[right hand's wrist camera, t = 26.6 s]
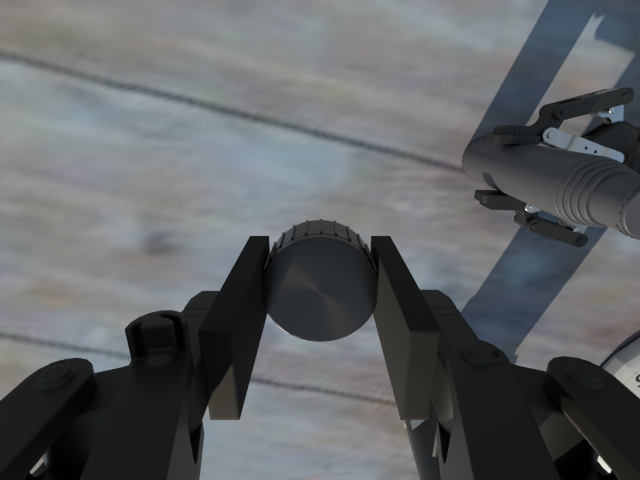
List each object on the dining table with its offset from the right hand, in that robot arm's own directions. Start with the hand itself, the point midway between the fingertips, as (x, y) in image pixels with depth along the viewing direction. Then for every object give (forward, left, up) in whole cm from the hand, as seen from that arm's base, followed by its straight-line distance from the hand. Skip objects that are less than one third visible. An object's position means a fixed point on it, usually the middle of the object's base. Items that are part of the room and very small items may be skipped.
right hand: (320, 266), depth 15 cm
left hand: (+2, +14, -18) cm, 23 cm away
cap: (0, 0, +2) cm, 2 cm away
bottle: (+3, +17, -24) cm, 30 cm away
